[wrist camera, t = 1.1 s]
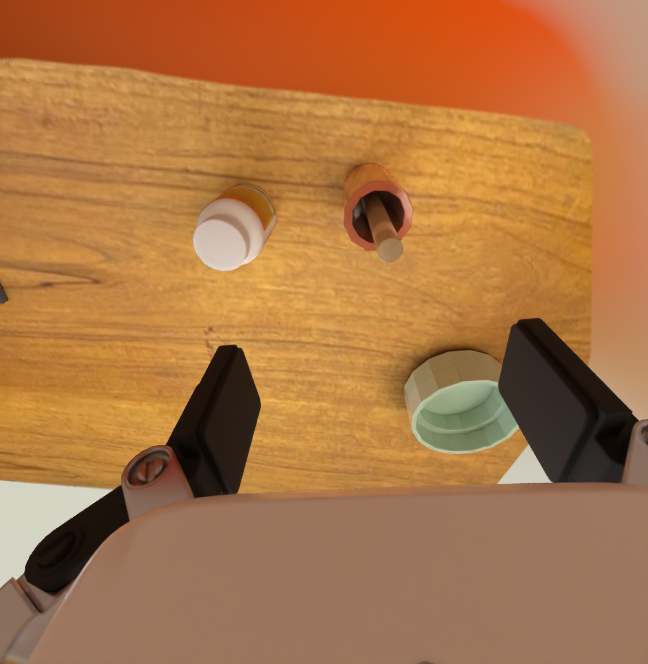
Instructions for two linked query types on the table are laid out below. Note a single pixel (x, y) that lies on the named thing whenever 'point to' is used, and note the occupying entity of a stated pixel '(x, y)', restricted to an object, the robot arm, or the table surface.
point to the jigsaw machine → (2, 296)
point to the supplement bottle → (234, 227)
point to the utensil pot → (390, 195)
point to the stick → (382, 229)
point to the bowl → (458, 403)
